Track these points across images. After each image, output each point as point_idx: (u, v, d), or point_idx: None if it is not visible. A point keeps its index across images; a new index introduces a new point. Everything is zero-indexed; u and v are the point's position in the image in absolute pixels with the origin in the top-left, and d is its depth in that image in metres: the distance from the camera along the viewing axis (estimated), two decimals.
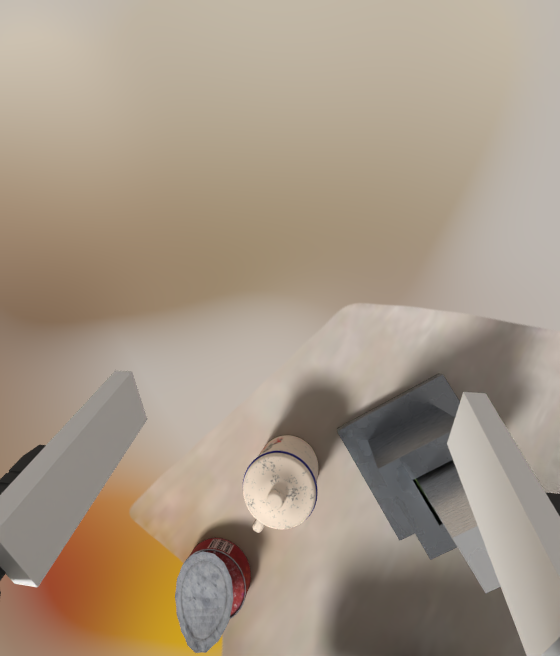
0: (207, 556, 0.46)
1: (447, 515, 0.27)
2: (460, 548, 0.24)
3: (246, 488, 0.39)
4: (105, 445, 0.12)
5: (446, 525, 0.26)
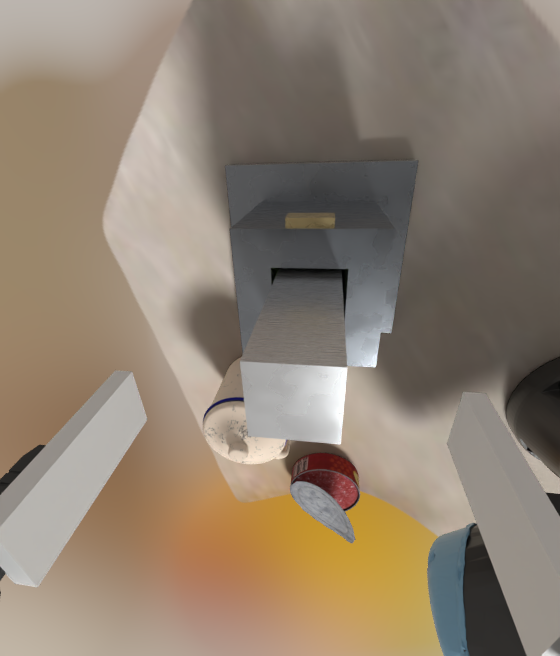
0: (296, 485, 0.46)
1: None
2: (266, 435, 0.15)
3: (226, 456, 0.36)
4: (105, 445, 0.12)
5: None
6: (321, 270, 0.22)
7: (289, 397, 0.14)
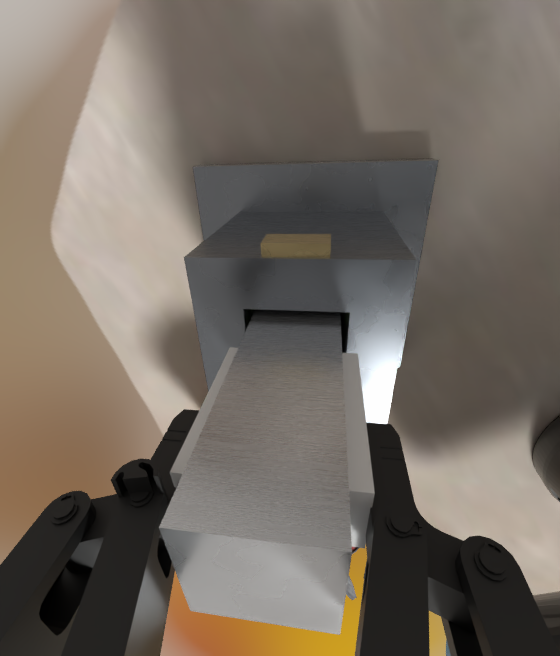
0: None
1: None
2: (220, 612, 0.09)
3: None
4: None
5: None
6: (312, 311, 0.16)
7: (252, 577, 0.08)
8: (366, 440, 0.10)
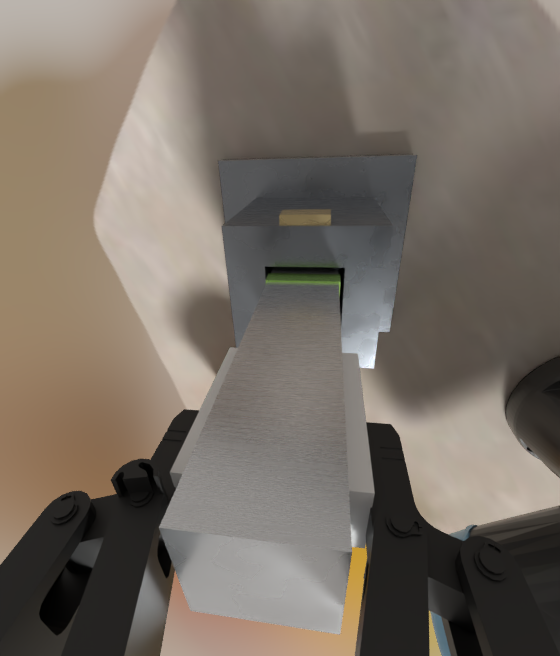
0: None
1: None
2: (220, 612, 0.09)
3: None
4: None
5: None
6: (312, 311, 0.16)
7: (252, 577, 0.08)
8: (366, 440, 0.10)
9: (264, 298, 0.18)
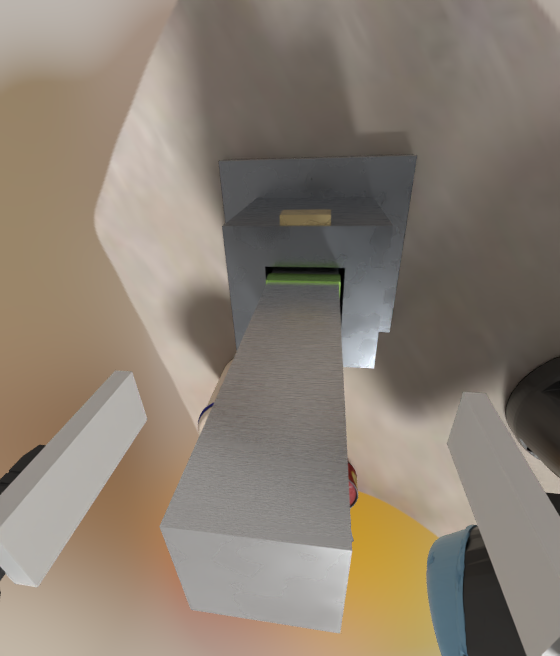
0: None
1: None
2: (220, 611, 0.09)
3: None
4: (105, 445, 0.12)
5: None
6: (313, 311, 0.16)
7: (252, 576, 0.08)
8: None
9: (264, 298, 0.18)
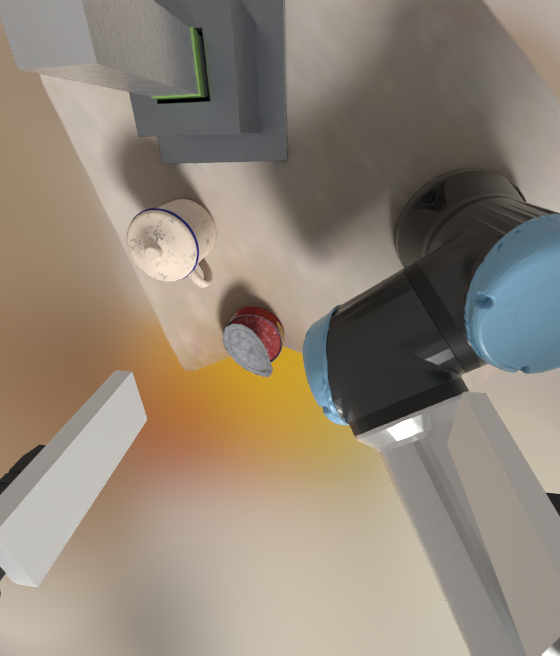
0: (226, 333, 0.52)
1: None
2: (33, 65, 0.16)
3: (149, 273, 0.42)
4: (105, 445, 0.12)
5: None
6: None
7: None
8: None
9: None
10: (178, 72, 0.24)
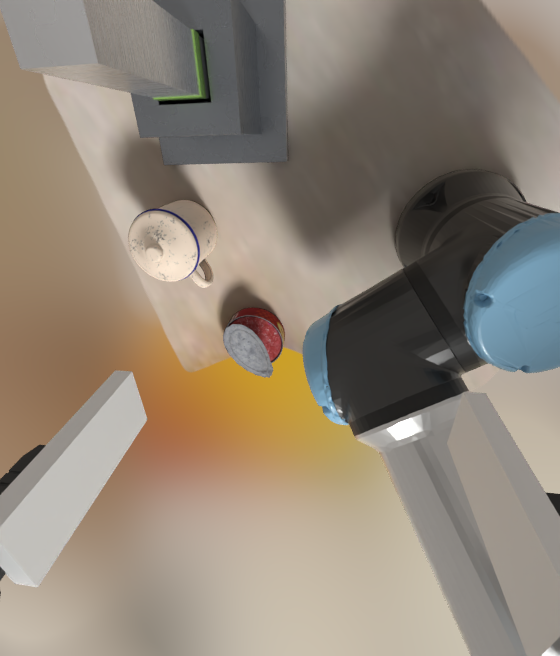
0: (227, 334, 0.53)
1: None
2: (35, 65, 0.16)
3: (151, 273, 0.42)
4: (105, 445, 0.12)
5: None
6: None
7: None
8: None
9: None
10: (179, 73, 0.24)
